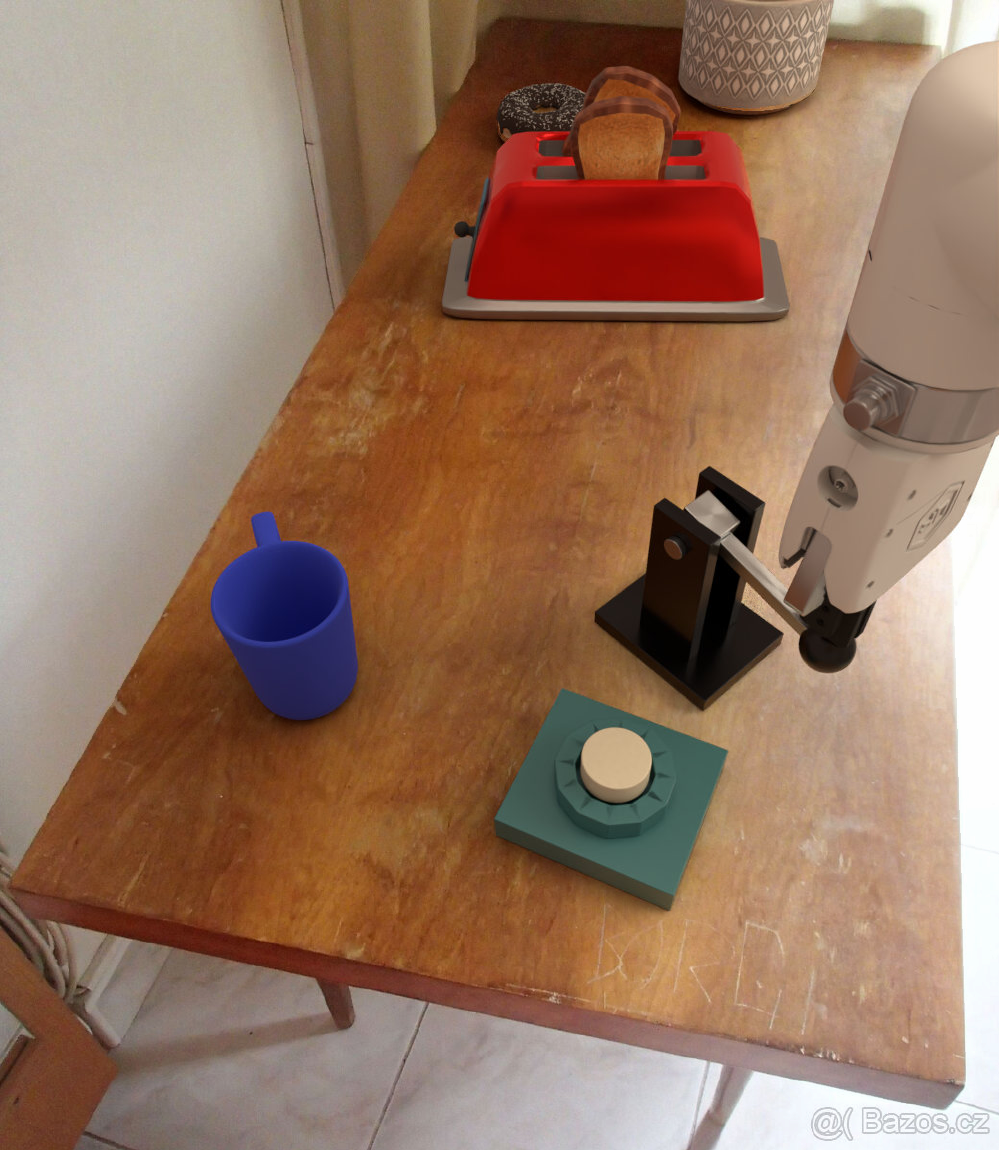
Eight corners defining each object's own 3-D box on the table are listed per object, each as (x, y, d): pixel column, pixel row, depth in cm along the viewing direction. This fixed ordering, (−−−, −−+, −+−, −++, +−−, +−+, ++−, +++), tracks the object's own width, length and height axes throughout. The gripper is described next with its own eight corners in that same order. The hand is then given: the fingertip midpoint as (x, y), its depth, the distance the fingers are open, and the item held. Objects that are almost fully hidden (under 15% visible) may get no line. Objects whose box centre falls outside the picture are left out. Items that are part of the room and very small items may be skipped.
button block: (723, 767, 62) (733, 734, 58) (670, 911, 56) (677, 882, 53) (561, 705, 65) (562, 671, 62) (495, 835, 59) (492, 804, 56)
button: (659, 757, 58) (661, 741, 57) (634, 814, 56) (637, 799, 54) (595, 732, 59) (597, 717, 58) (569, 787, 57) (570, 772, 56)
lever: (851, 661, 59) (877, 639, 56) (818, 691, 57) (843, 671, 55) (698, 509, 62) (716, 481, 59) (664, 534, 61) (680, 507, 58)
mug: (343, 582, 72) (319, 484, 65) (383, 715, 65) (361, 623, 57) (231, 612, 71) (193, 516, 63) (259, 751, 63) (219, 662, 56)
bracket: (780, 643, 67) (821, 514, 58) (702, 711, 64) (731, 587, 54) (671, 562, 72) (691, 431, 63) (593, 621, 69) (601, 493, 59)
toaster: (441, 321, 92) (421, 121, 78) (453, 245, 100) (438, 52, 86) (789, 324, 90) (835, 119, 76) (773, 246, 98) (812, 48, 84)
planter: (816, 65, 124) (839, -49, 114) (812, 127, 114) (837, 7, 104) (685, 57, 127) (696, -55, 117) (669, 116, 117) (680, -1, 107)
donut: (477, 132, 116) (475, 98, 113) (556, 102, 120) (556, 68, 117) (536, 168, 110) (535, 133, 107) (616, 135, 114) (618, 100, 111)
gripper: (900, 502, 37) (800, 748, 51) (1101, 333, 43) (962, 594, 57) (744, 406, 41) (691, 660, 55) (949, 263, 47) (853, 524, 61)
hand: (829, 626), depth 56 cm, fingers closed
